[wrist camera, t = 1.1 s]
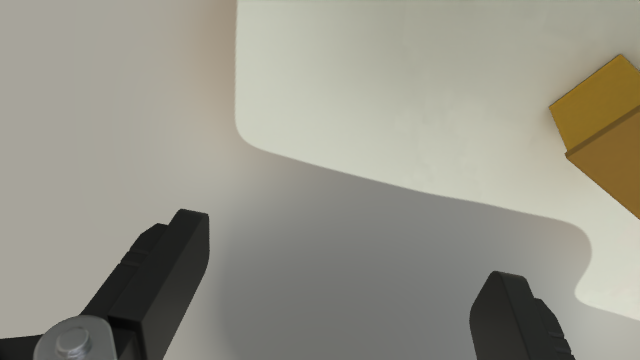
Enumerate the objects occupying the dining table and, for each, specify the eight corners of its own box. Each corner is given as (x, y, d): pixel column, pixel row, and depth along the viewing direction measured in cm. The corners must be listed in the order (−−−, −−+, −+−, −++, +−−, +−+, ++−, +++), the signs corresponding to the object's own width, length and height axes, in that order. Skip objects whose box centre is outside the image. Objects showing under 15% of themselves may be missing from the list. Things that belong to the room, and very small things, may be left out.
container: (621, 50, 28) (663, 96, 22) (702, 128, 29) (759, 187, 24) (545, 107, 31) (566, 158, 26) (621, 173, 33) (655, 233, 28)
